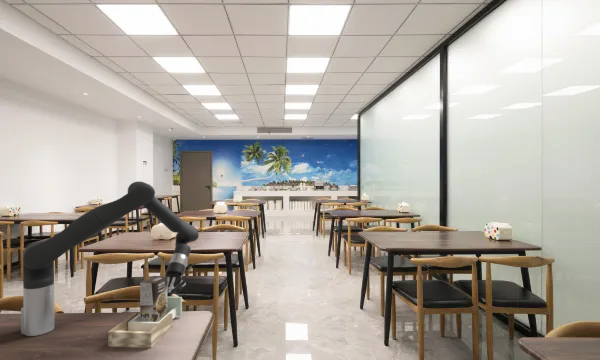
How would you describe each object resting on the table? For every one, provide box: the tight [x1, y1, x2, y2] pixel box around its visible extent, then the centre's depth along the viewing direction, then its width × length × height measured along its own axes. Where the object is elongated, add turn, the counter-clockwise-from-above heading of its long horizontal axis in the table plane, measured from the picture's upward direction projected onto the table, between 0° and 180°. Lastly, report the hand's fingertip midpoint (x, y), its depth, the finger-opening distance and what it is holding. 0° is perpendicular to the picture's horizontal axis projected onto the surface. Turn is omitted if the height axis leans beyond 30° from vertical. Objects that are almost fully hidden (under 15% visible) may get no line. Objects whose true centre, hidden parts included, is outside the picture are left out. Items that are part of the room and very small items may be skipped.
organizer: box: [107, 312, 174, 349], centre depth 125 cm, size 15×17×5 cm
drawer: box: [128, 296, 183, 332], centre depth 134 cm, size 15×16×7 cm
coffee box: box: [139, 275, 167, 322], centre depth 134 cm, size 9×6×16 cm
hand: (165, 302), depth 144 cm, fingers closed
